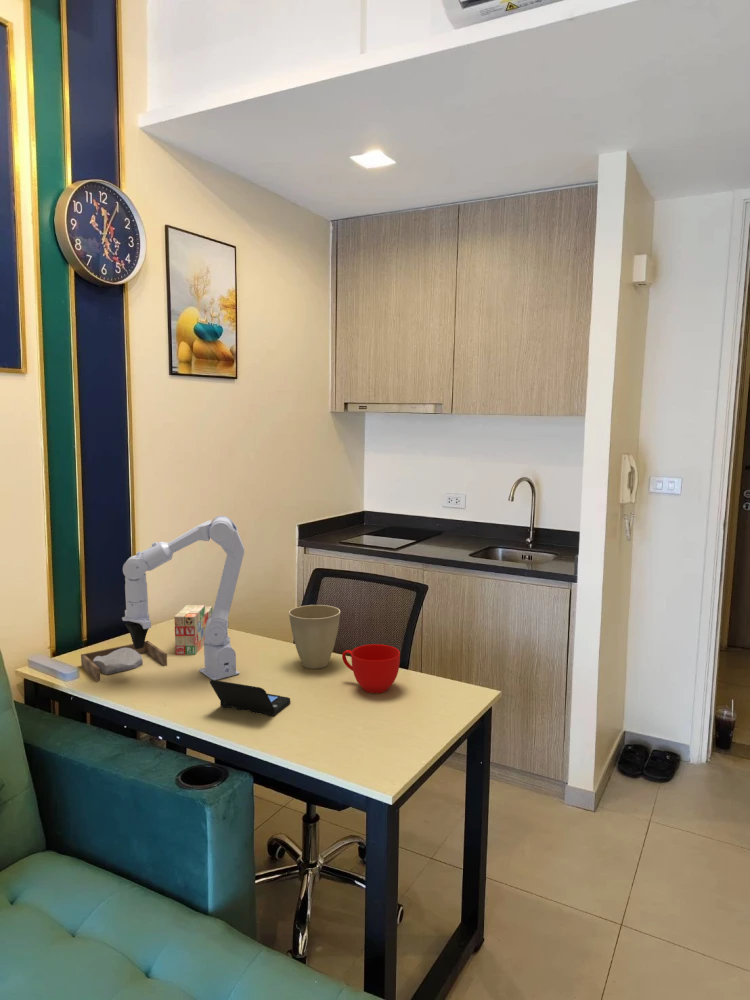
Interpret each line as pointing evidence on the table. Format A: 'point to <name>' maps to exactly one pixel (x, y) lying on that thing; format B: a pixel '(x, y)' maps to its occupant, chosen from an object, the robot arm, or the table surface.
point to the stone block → (118, 661)
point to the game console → (248, 698)
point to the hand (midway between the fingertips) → (138, 647)
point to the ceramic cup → (374, 666)
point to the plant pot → (314, 633)
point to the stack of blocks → (191, 628)
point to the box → (89, 657)
